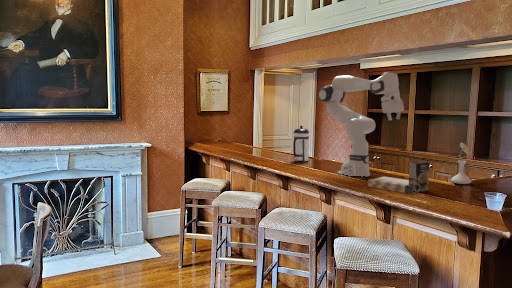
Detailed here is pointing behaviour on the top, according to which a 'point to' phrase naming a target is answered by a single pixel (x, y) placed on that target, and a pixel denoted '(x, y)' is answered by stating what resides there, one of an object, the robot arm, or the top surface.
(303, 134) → the coffee press
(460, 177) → the flower in vase
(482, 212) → the top surface
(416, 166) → the coffee box
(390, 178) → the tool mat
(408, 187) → the mottled brown bar
